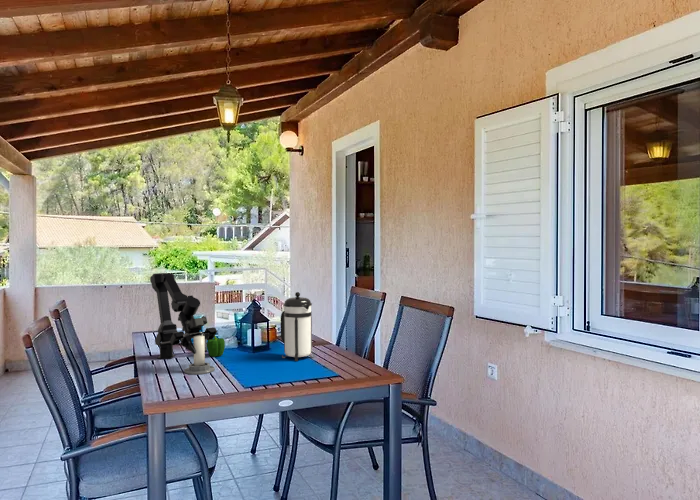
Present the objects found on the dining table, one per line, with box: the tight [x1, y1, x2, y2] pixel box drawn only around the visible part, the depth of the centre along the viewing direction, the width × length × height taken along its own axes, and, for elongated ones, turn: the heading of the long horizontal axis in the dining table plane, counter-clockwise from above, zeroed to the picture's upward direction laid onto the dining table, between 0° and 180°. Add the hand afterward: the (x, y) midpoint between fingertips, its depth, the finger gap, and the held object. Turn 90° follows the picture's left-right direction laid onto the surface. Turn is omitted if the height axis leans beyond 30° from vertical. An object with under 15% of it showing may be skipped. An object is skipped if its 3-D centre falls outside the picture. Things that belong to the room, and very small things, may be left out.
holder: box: [184, 361, 216, 376], centre depth 219 cm, size 12×12×3 cm
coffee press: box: [280, 291, 316, 362], centre depth 242 cm, size 17×16×30 cm
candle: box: [192, 336, 206, 367], centre depth 219 cm, size 4×4×13 cm
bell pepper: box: [207, 335, 226, 358], centre depth 247 cm, size 8×8×10 cm
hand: (200, 352), depth 218 cm, fingers closed on candle, 4 cm apart
